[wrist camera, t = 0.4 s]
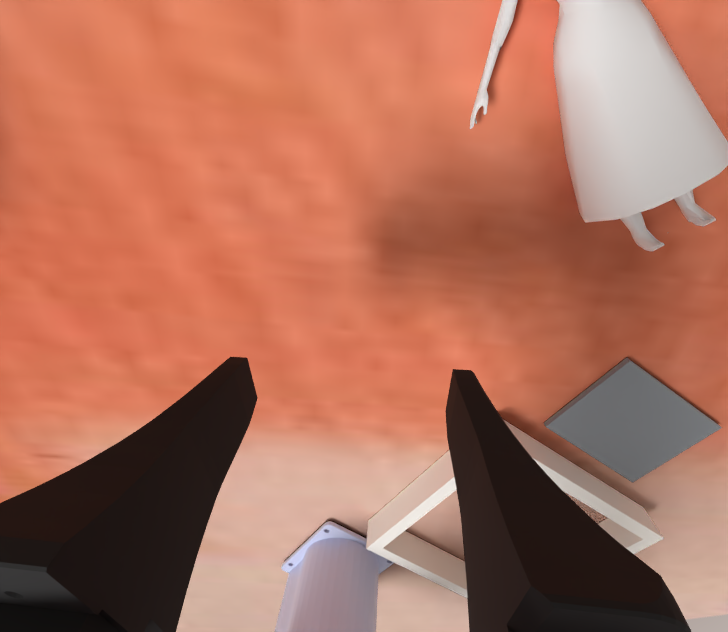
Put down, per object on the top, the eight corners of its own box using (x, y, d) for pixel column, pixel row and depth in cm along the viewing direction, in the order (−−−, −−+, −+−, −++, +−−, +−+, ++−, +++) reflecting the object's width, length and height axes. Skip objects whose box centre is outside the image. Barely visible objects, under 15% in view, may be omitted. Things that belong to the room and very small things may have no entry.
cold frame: (501, 588, 35) (508, 618, 33) (368, 520, 32) (366, 548, 30) (643, 507, 29) (664, 538, 26) (491, 412, 26) (501, 438, 24)
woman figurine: (569, 307, 17) (365, -109, 12) (538, 279, 21) (376, -42, 16) (876, 161, 14) (757, -504, 9) (768, 162, 18) (647, -292, 13)
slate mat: (629, 478, 27) (632, 482, 27) (543, 422, 26) (545, 426, 25) (717, 423, 25) (721, 427, 24) (626, 357, 23) (630, 360, 23)
